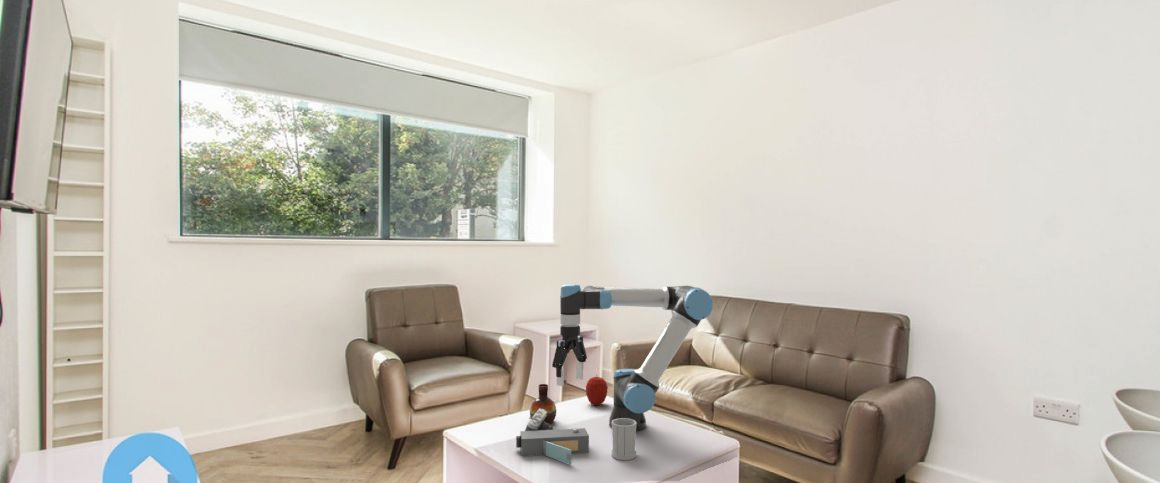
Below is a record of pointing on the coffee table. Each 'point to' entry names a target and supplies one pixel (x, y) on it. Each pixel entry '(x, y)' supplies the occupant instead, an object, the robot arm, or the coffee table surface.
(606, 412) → the coffee table surface
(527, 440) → the long gray box
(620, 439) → the cup
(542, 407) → the vase
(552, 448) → the side door
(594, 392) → the apple
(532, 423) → the camera
